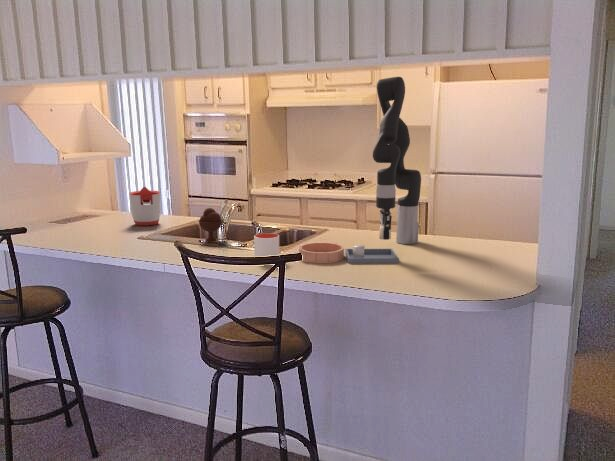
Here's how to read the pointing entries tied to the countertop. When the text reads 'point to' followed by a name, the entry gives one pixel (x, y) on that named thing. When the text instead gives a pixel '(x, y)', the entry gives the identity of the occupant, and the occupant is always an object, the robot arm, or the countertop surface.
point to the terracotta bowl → (321, 252)
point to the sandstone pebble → (382, 233)
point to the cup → (266, 244)
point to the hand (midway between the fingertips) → (385, 237)
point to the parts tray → (373, 256)
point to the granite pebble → (358, 251)
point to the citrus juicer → (145, 207)
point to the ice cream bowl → (210, 223)
